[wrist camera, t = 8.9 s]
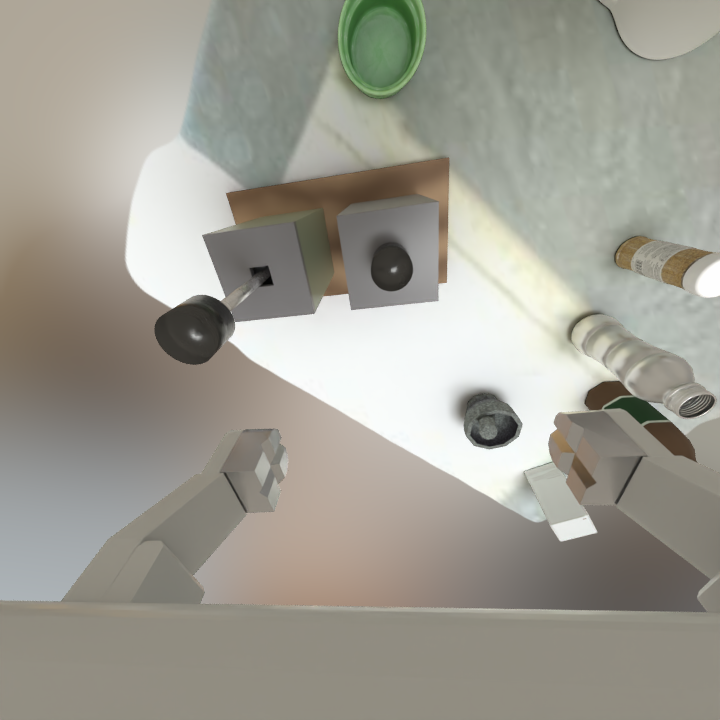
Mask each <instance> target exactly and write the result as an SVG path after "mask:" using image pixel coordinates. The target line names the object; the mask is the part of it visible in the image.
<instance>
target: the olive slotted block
mask: <svg viewBox="0 0 720 720" xmlns="http://www.w3.org/2000/svg"><path fill="white" fill-rule="evenodd" d="M202 236H203V239H204V241H205V244H206V246H207V249H208V252H209V254H210V257H211V259H212V262H213V265H214V267H215V270H216V273H217V275H218V278H219V280H220V283H221V286H222V288H223V291H224V293H225V296H226V297H227V296H228V295H230V294H231V293H232V292H234V291H235V290H236V289H237V288H239V287H240V286H241V285H243V284H244V283H245V282H247V281H248V280H249V279H251V278H252V277H253V276H255V274H254V271H253V268H254V267H262V266H268V267H269V270H270V274H271V277H272V281H273V284H265V285H260V286H259V287H258V288H257V289H255V290H254V291H253V292H252V293H251V294H250V295H249V296H247V297H246V298H245V299H244V300H243V301H242V302H241V303H240V304H238V305H237V306H236V307H235V308H234V309H233V310H232V311H231V312H232V314H233V317H234V320H235V322H240V321H250V320H260V319H269V318H279V317H288V316H298V315H308V314H314V313H315V311H316V309H317V307H318V305H319V303H320V301H321V299H322V297H323V295H324V293H325V291H326V289H327V287H328V285H329V283H330V281H331V279H332V277H333V275H334V268H333V262H332V256H331V251H330V245H329V239H328V234H327V228H326V222H325V217H324V211H323V208H319V209H312V210H305V211H298V212H292V213H285V214H278V215H271V216H265V217H260V218H256V219H253V220H250V221H247V222H244V223H240V224H237V225H234V226H231V227H227V228H224V229H221V230H218V231H215V232H211V233H208V234H205V235H202Z"/></svg>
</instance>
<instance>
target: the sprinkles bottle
mask: <svg viewBox="0 0 720 720" xmlns="http://www.w3.org/2000/svg"><path fill="white" fill-rule="evenodd" d="M615 260H616V264H617V265H618V266H619V267H621V268H623V269H629V270H632V271H634V272H636V273H638V274H641V275H644V276H646V277H649V278H652V279H655V280H657V281H660V282H663V283H666V284H671V285H674V286H677V287H680V288H683V289H684V290H686V291H687V292H689V293H691V294H694V295H697V296H701V297H705V298H711V297H716V296H720V253H716V252H714V253H713V252H708V251H703V250H699V249H696V248H693V247H688V246H684V245H679V244H674V243H669V242H664V241H657V240H652V239H648V238H646V237H641V236H638V237H634V238H631V239H629V240H627V241H626V242H625V243H623V244H622V245H621V246H620V248H619V249H618V251H617V253H616V256H615Z"/></svg>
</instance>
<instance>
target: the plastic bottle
mask: <svg viewBox="0 0 720 720" xmlns="http://www.w3.org/2000/svg"><path fill="white" fill-rule="evenodd" d="M571 340H572V343H573V344H574V346H575V347H576V348H577V350H578V351H580V352H582V353H583V354H585V355H587V356H589V357H592V358H593V359H595V360H597V361H598V362H600V363H601V364H603V365H604V366H605V367H606V368H607V369H609V370H610V371H611V372H612V373H613V374H614V375H615V376H616V377H617V378H618V379H619V381H620V382H621V383H622V384H623V385H624V386H625V388H626V389H627V390H628V391H629V392H630V393H631V394H632V395H633V396H635V397H637V398H639V399H642V400H644V401H648V402H654V403H663V404H664V406H665V407H666V408H667V409H669V410H670V411H673V412H674V413H675V414H676V415H677V416H679V417H681V418H683V419H693V418H697V417H700V416H702V415H704V414H706V413H708V412H709V411H710V410H711V409H712V408H713V407H714V406H715V404H716V401H717V399H716V397H715V396H714V395H713V394H712V393H710V392H709V391H707V390H706V389H705V388H704V387H703V386H702V385H700V384H698V383H695V378H694V374H693V369H692V368H691V366H690V365H689V364H688V362H687V361H686V360H685V359H683V358H681V357H679V356H677V355H675V354H672V353H670V352H667V351H665V350H662V349H659V348H657V347H654V346H652V345H651V344H649V343H647V342H644V341H643V340H641V339H639V338H637V337H636V336H634V335H633V334H632V333H630V332H629V331H628V330H626V329H625V328H624V327H623V325H622V324H621V323H619V322H618V321H617V320H616V319H615V318H613V317H610V316H606V315H602V314H596V315H591V316H588V317H586V318H584V319H582V320H581V321H579V322H578V323H577V324H576V325H575V327H574V329H573V331H572V336H571Z"/></svg>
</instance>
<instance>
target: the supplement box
mask: <svg viewBox="0 0 720 720" xmlns="http://www.w3.org/2000/svg"><path fill="white" fill-rule="evenodd" d="M524 473H525V475H526V478H527V480H528V482H529V484H530V486H531V488H532V490H533V492H534V494H535V496H536V498H537V500H538V502H539V504H540V506H541V508H542V510H543V512H544V514H545V516H546V518H547V520H548V522H549V524H550V526H551V528H552V529H553V531H554V533H555V534H556V536H557V537H558V539H559V540H560V541H565V540H569V539H573V538H578V537H581V536H585V535H589V534H593V533H597V530H596V528H595V526H594V525H593V522H592V521H591V519H590V517H589V514H588V513H587V511H586V510H585V508H584V506H583V505H580V504H579V503H578V501H577V499H576V498H575V496H574V495H573V493H572V492H571V490H570V488H569V487H568V485H567V484H566V477H565V476H564V474H563V472H562V471H561V470H559V469H558V468H557V467H556V466H555V464H554V462H552V463H548V464H545V465H542V466H539V467H536V468H533V469H530V470H527V471H524Z"/></svg>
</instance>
